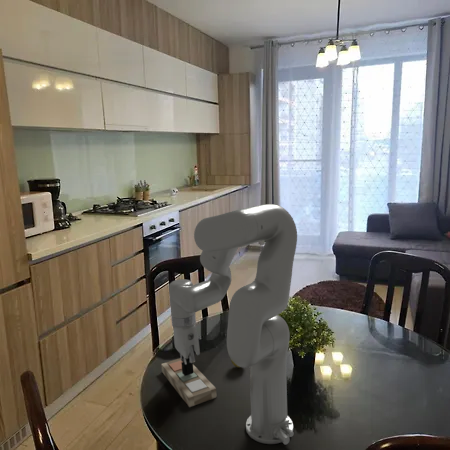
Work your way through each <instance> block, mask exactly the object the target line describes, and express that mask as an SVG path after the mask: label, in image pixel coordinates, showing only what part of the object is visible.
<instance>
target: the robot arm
mask: <svg viewBox="0 0 450 450" xmlns="http://www.w3.org/2000/svg"><path fill="white" fill-rule="evenodd" d="M297 230H298V229H297V225H296V223H295V221H294V218H293V216H292V215H291V213H290V212H289V211H288V210H287V209H285V208H284V207H282V206H280V205H277V204H272V203H267V204H264V203H263V204H259V205H255V206H254V205H253V206H251V207H246V208H241V209H236V210H232V211H228V212H224V213H222V214H217V215H214V216H208V217H205V218H202V219H201V220H200V221H199V222H198V223H197V225H196V226H195V228H194V233H193V238H194V242H195V244H196V246H197V248H198V249H200V250H201V251H202V252H201V254H200V255H199V261H200V264H201V265H202V267H203V268H204V269H205V270H207V271H209V272H210V273H211V274H210V276H209V278H208V279H207V280H204V281H202V282H199V283H196V284H194V283H193V282H192V280H190V279H184V278H183V279H182V278H181V279H175V280H173V281H171V282H170V283H169V284H168V293H169V294H168V295H169V305H170V317H171V326H172V328H173V343H174V347H175V350H176V351H177V352H178V353H179V356H180V358H181V361H182V362H181V363H182V373H183V374H184V376H186V375H189V374H192V373H193V365H194V363H195V362H196V358H195V355H196V356H200V354H201V352H200V351H201V350H200V341H199V336H198V335H199V334H198V331H197V325H196V324H197V318H196V313H197V312H200V311H202V310H204V309H206V308H209V307H212V306H213V305H216V304H218V303H219V302H221V301H222V300H223V299H224V297H225V296H226V294H227V293H228V290H229V288H230V286H231V283H232V270H231V268H230V265H231V263H232V261H233V259H234V257H235V256H236V253H237V251H238V250H239V248H242V247H246V246H249V245H254V244H256V243H259V242H263V241H265V242H264V245H263V247H262V250H261V251H260V253H259V256H258V259H257V263H256V264H257V265H256V275H255V279H254V280H252V282H250V283H249V284H245V285H244V286H241V287H240V288H238V289H237V290H235V292H234V293H233V295H232V297H231V299H230V301H229V305H228V316H227V331H226V349H227V352H228V356H229V357H230V361H231V360H232V361H233V362H234V363H235V364H236V365H237V366H240V368H245V369H246V368H249V389H250V390H249V391H250V393H249V395H250V415H249V417H247V419H246V422H245V431H246V433H247V434H248V436H249V437H250V438H251V439H253V440H254V441H256V442H258V443H261V444H267V445H276V444H279V443H283V445H288V444H289V443H290V440H291V438H292V437H293V436H294V435H295V432H294V423H293V420H292V418H290V416H289V415H288V395H287V394H288V393H287V391H288V390H287V389H288V388H287V386H288V385H287V384H288V383H287V382H288V381H287V364H288V363H287V361H288V352H289V351H288V350H289V345H290V330H289V326H288V324H287V322H286V320H285V319H284V318H283V317H281V315H280V314H282V313H283V312H284V311H285V310H287V309H286V308H287V307H288V304H289V300H290V293H291V292H290V291H291V285H292V279H293V278H292V275H293V267H294V260H295V255H296V250H297V244H298V231H297Z"/></svg>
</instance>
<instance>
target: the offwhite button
mask: <svg viewBox="0 0 450 450" xmlns="http://www.w3.org/2000/svg"><path fill="white" fill-rule="evenodd" d="M186 387H187V388H188V390H189V391H190V392H191V393H194V392H197V391H200V390H203V389H206V388H207V386H206V385H205V384H204V383H203V382H202V380H201V379H199V380H196V381H193V382H190V383H187V384H186Z"/></svg>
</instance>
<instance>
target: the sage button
mask: <svg viewBox="0 0 450 450" xmlns="http://www.w3.org/2000/svg"><path fill="white" fill-rule="evenodd" d="M177 376H178V378H179V379H180V380H181V381H182V382H185V381H188V380H191V379H194V378H197V375H196V374H195V373H194V372H193V373H192V374H189V375H186V376H184V374H183V373H182V372H180V373H177Z"/></svg>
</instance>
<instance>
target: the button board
mask: <svg viewBox="0 0 450 450" xmlns="http://www.w3.org/2000/svg"><path fill="white" fill-rule="evenodd" d="M178 361H181V357H180V358H177V359H173V360H169V361H166V362H164V363H160V364H161V373H163V375H164V377H166V379H167V380H168V382H169V383H170V384H171V386H172V387H173V388H174V389H175V391H176V392H177V393H178V395H179V396H180V398H182V400H183V401H184V402H185V403H186V404H187V407H188V408H191V407H194V406H196V405H199V404H202V403H205V402H208V401H210V400H214V399H216V398H217V388H216V386H215V385H214V384H213V383H212V382H211V381H210V380H209V379H208V378H207V377H206V376H205V375H204V374H203V373H202V372H201V371H200V370H199V369H198V367H196V366H195V365H194V364H193V372H194V373H195V374H196V375H197V378H194V379H191V380H188V381H185V382H182V381H181V380H180V379H179V378H178V376H177V373H180V372H182V370H179V371H176V372H173V370H172V369H171V368H170V367H169V364H171V363H175V362H178ZM199 379H201V380H202V382H203V383H204V384H205V385H206V386H207V388H206V389H203V390H200V391H197V392H194V393H191V392H190V391H189V390H188V388H187V387H186V384H187V383H190V382H193V381H196V380H199Z"/></svg>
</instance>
